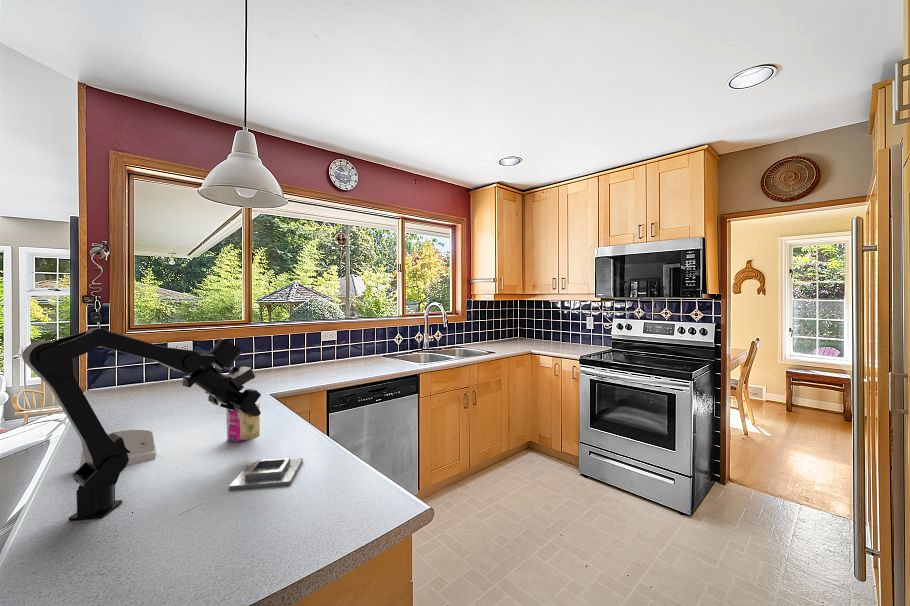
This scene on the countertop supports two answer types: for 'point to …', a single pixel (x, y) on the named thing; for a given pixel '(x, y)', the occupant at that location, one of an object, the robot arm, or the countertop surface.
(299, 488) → the countertop surface
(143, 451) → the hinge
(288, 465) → the flange plate
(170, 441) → the countertop surface
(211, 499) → the countertop surface
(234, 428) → the supplement box
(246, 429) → the brass cylinder
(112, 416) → the countertop surface
